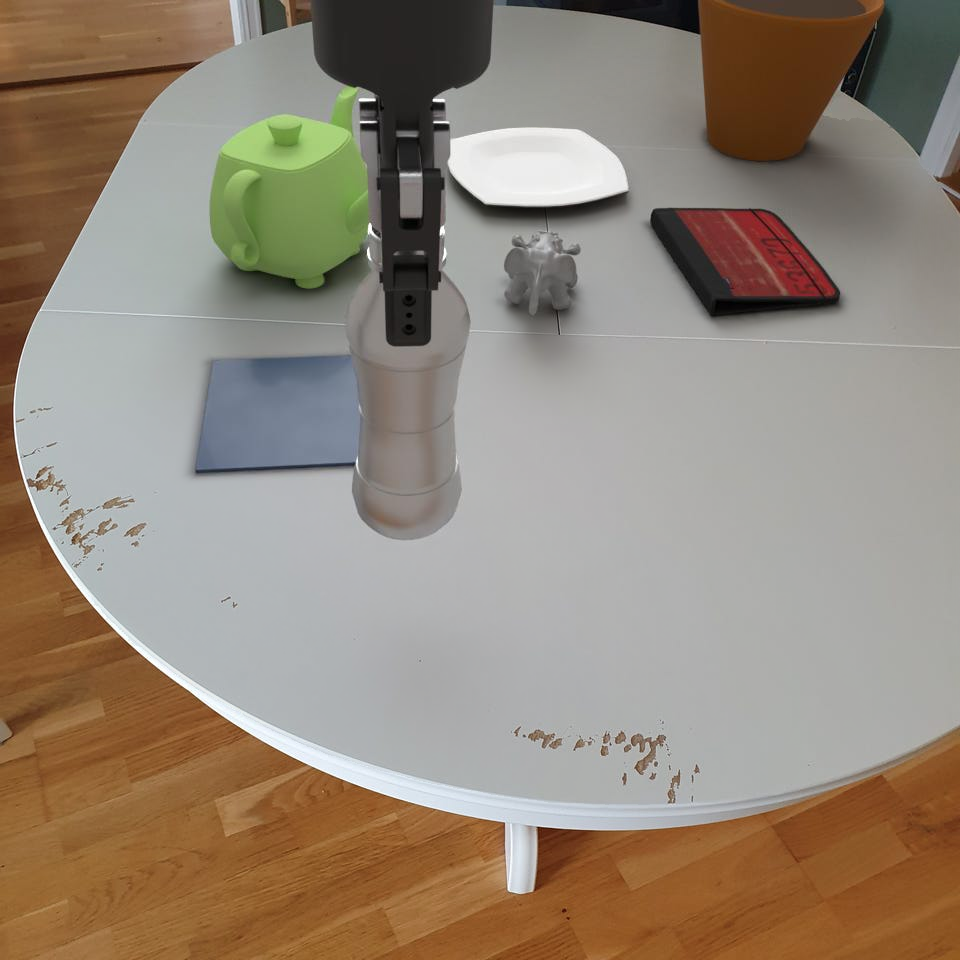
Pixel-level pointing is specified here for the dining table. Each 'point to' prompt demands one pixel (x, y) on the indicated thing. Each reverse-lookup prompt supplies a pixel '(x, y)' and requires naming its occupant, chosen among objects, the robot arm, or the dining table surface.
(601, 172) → the plate
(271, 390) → the flat rectangular board
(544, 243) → the gray elephant figurine
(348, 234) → the teapot
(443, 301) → the silver metal bottle
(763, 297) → the notebook
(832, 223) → the dining table surface
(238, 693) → the dining table surface
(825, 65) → the flower pot
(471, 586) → the dining table surface
